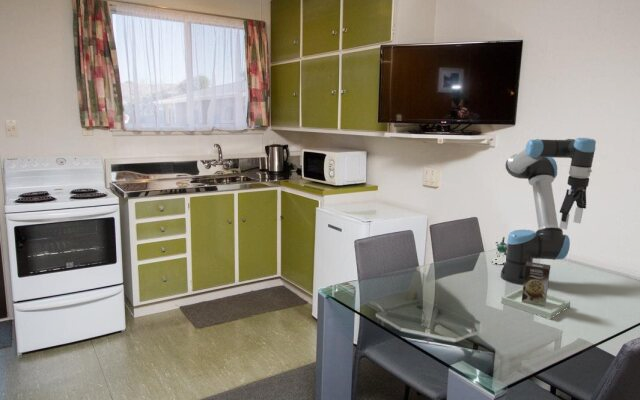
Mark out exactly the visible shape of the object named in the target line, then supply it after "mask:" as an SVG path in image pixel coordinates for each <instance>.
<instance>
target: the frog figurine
mask: <svg viewBox="0 0 640 400" xmlns="http://www.w3.org/2000/svg"><path fill="white" fill-rule="evenodd" d="M495 245H496V249H497V251H496V256H497V257H498V256H499V257H500V255H501V254H503V256H504V255H506V254H507V243H506V242H505V236H503V237H502V240H501V241H500V243H499V241H496V242H495ZM498 252H499V254H498ZM495 260H497V259H495Z"/></svg>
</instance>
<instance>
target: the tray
mask: <svg viewBox="0 0 640 400" xmlns="http://www.w3.org/2000/svg"><path fill="white" fill-rule="evenodd" d="M522 293H523V286H522V287H520V288H518V289H516V290H514V291H512V292H510V293H507V294H506V295H503V296H502V297H501V301H500V303H501V304H503V305H505V306H506V305H507V306H509V307H512V308H515V309H518V310H521V311H524V312H526V311H527V313H529V312H530V314H532V313H534V314H533V315H535V314H537V315H536V316H538V315H540V316H539V317H541V316H543V317H542V318H544V317H546V318H545V319H547V318H549V319H548V320H551V318H552V317H553V316H555V315H556V314H557V313H559V312H561V311H563V310H564V309H566V308H568V307H570V308H571V301H569V300H567V299H563V298H561V297H560V298H559V297H556V296H554V295H550V294H547V298H546V305H545V307H544V306H539V305H534V304H529V303H524V302H521V301H522ZM568 309H569V308H568ZM566 310H567V309H566ZM563 312H564V311H563ZM561 313H562V312H561ZM555 317H556V316H555ZM553 318H554V317H553ZM553 318H552V319H553Z"/></svg>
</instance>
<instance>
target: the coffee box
mask: <svg viewBox="0 0 640 400" xmlns="http://www.w3.org/2000/svg"><path fill="white" fill-rule="evenodd" d="M550 270H551V264H546V263H539V262H528V261H527V263H526V267H525V276H524V284H522V285H523V286H522V287H523V293H522V301H521V302H524V303H529V304H534V305H539V306H544V307H545V305H546V298H547V295H548V291H549V290H548V289H549V280H550V273H551V271H550Z"/></svg>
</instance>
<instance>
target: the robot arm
mask: <svg viewBox="0 0 640 400" xmlns="http://www.w3.org/2000/svg"><path fill="white" fill-rule="evenodd" d="M596 142H597V141H596V140H595V139H594V138H589V137H577V138H575V139H573V138H567V139H539V138H536V139H529V140H528V141H527V142H526V145H525V149H523V150H522V151H520V152H519V153H518V154H517V153H516V154H512V155H511V156H509V157H508V158H507V160H506V162H505V170H506V171H507V173H508V174H509V175H510V176H512V177H513V178H517V179H521V180H522V179H525V180H528V185H530V186H532V192H533V199H534V206H535V214H536V220H537V221H536V222H537V230H536V231H534V230H530V229H515V230H513V231H510V232H509V233H508V237H507V241H506V242H507V243H506V244H507V251H506V252H507V254H506V262H505V263H504V264H503V267H502V268H501V271H500V278H501V279H502V280H504V281H506V282H509V283H513V284H517V285H518V284H519V285H523V284H524V276H525V267H526V263H527V261H528V262H533V261H534V260H535V259H537V260H553V261H555V260H564V259H565V258H567V256H568V254H569V251H570V244H571V242H570V241H571V239H570V237H569V235H567V234H564V233H563V232H564V231H563V230H565V231H567V230H568V226H569V220H570V211H571V210H572V207H573V205H574V204H575V202H576V206H577V207H576V206H575V211H574V215H573V223H575V224H582V217H583V213H584V209H585V210H586V208H587V188H588V187H589V183H590V178H589V177H590V176H591V173H592V172H593V170H592V166H593V161H594V155H595V152H596V144H597V143H596ZM555 158H560V159H561V158H563V159H567V158H568V159H571V161H570V165H569V171H568V174H569V176H568V178H567V184H566V185H568V186H571V187H570V189H566V193H565V196H564V199H563V202H562V203H561V206H560V210H559V213H561V216H560V223H558V218H557V217H558V216H557V211H556V206H555V205H556V204H555V199H554V198H555V197H554V193H553V186H552V183H554V181H555V179H556V178H557V176H558V165H557V162H556V159H555ZM533 263H534V262H533Z"/></svg>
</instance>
